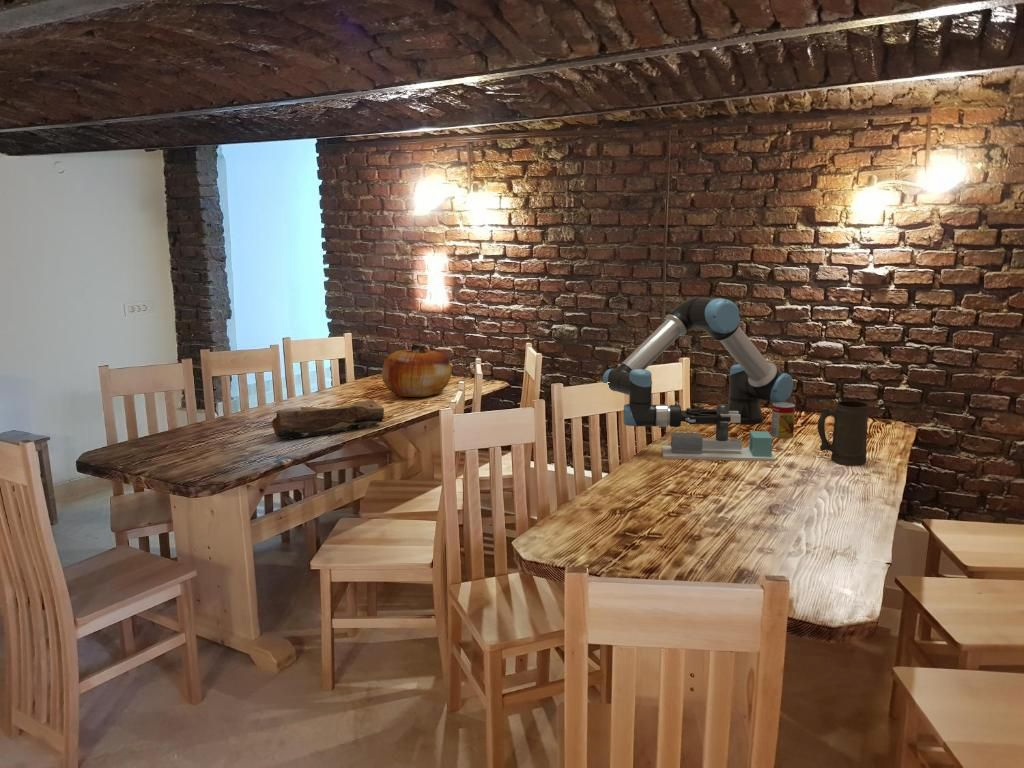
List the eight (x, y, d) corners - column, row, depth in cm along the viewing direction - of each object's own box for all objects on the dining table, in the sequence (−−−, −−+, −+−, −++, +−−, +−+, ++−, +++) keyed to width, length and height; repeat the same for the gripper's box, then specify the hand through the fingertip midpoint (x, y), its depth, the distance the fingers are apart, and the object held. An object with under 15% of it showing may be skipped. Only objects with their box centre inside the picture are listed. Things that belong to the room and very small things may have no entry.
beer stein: (861, 456, 249) (862, 398, 245) (873, 466, 238) (874, 406, 234) (814, 458, 250) (813, 401, 246) (824, 468, 240) (824, 409, 236)
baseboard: (663, 458, 251) (663, 455, 251) (661, 448, 262) (661, 445, 262) (775, 461, 245) (775, 458, 245) (768, 451, 257) (769, 448, 256)
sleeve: (671, 453, 253) (672, 436, 252) (671, 448, 259) (671, 432, 257) (701, 453, 251) (702, 437, 250) (700, 449, 257) (700, 432, 256)
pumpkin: (458, 388, 371) (454, 338, 367) (445, 400, 339) (441, 345, 335) (394, 391, 375) (389, 342, 371) (376, 403, 342) (371, 349, 338)
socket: (752, 456, 248) (753, 437, 247) (749, 449, 256) (749, 431, 254) (771, 456, 247) (772, 438, 246) (767, 449, 255) (768, 431, 253)
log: (275, 443, 276) (279, 404, 273) (265, 429, 291) (269, 392, 288) (383, 443, 298) (387, 408, 295) (369, 430, 312) (373, 396, 309)
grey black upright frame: (678, 448, 253) (679, 406, 250) (677, 445, 257) (678, 403, 254) (741, 450, 250) (743, 407, 247) (740, 446, 254) (742, 404, 251)
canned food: (797, 437, 273) (799, 405, 270) (780, 439, 270) (782, 408, 267) (782, 432, 280) (784, 401, 277) (766, 434, 277) (767, 403, 274)
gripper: (667, 420, 262) (735, 421, 259) (670, 433, 246) (742, 434, 242) (667, 399, 261) (736, 400, 257) (670, 411, 244) (743, 412, 241)
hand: (739, 416), depth 250 cm, fingers closed on grey black upright frame, 4 cm apart
